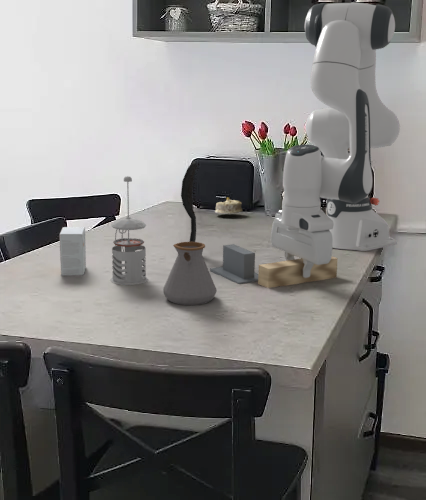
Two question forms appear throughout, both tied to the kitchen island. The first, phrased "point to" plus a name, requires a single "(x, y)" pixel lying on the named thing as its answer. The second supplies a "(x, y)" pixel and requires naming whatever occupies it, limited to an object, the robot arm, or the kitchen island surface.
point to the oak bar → (294, 272)
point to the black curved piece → (189, 197)
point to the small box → (72, 250)
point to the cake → (228, 207)
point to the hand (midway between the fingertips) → (298, 273)
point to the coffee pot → (189, 276)
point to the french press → (128, 251)
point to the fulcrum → (237, 265)
